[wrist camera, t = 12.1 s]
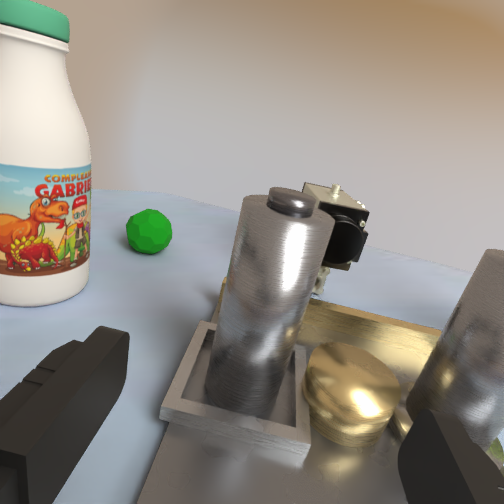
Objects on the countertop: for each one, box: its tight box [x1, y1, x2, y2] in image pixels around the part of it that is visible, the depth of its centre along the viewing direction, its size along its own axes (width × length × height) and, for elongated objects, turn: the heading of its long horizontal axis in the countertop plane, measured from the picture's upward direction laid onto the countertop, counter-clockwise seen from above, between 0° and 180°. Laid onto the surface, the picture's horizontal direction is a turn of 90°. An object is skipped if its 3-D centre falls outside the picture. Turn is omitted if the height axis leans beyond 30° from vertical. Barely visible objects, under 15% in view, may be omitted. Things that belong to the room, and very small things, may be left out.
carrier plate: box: [137, 249, 504, 504], centre depth 19 cm, size 21×20×14 cm
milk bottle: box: [0, 0, 91, 307], centre depth 24 cm, size 8×8×20 cm
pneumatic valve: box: [302, 182, 369, 295], centre depth 36 cm, size 6×12×12 cm, turn 1°
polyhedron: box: [126, 209, 172, 254], centre depth 37 cm, size 5×5×5 cm
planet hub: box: [205, 187, 335, 416], centre depth 19 cm, size 5×5×13 cm
